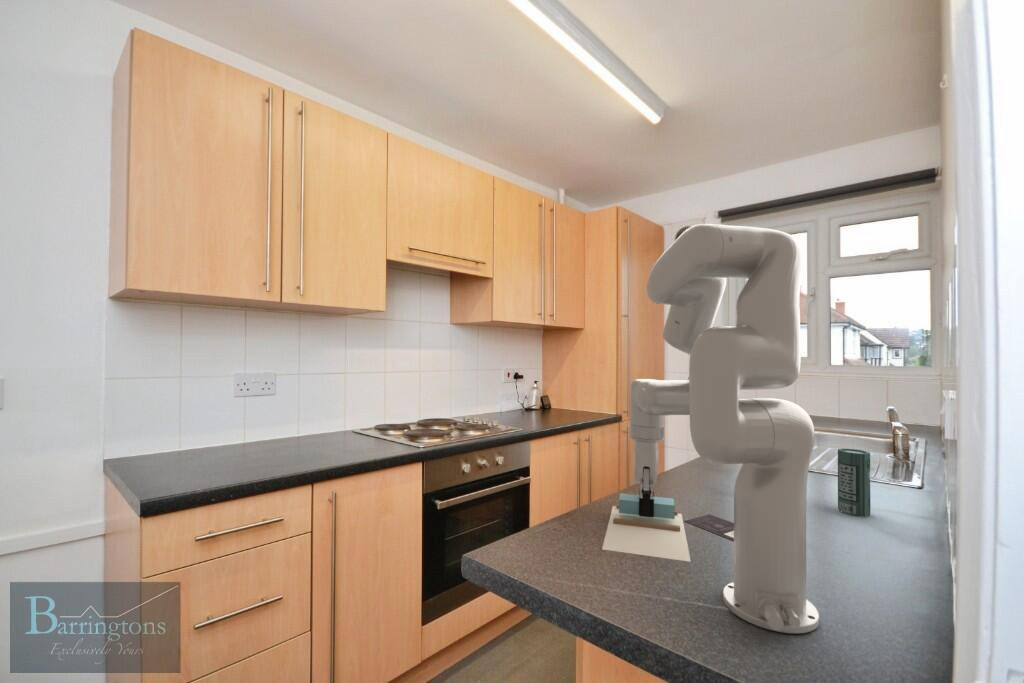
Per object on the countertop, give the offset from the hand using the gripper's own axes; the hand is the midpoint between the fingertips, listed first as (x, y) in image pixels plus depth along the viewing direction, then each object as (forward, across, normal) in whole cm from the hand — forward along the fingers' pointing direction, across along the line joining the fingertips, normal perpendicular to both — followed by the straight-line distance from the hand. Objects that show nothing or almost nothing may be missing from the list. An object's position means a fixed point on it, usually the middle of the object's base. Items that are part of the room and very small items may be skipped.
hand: (646, 511), depth 104 cm
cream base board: (+2, +7, 0) cm, 7 cm away
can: (+2, -23, +49) cm, 54 cm away
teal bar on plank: (0, 0, 0) cm, 0 cm away
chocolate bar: (+3, +2, +18) cm, 18 cm away
